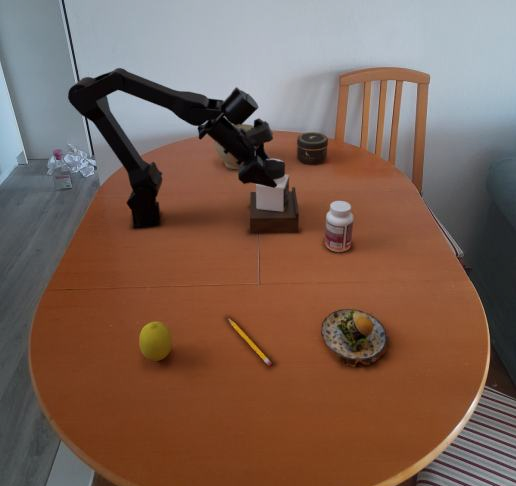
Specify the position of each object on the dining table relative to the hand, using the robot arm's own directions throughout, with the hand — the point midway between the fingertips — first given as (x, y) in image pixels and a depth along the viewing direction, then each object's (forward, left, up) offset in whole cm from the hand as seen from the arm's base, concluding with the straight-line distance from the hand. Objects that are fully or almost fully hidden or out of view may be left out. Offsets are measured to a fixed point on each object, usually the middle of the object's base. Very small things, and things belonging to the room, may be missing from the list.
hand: (275, 177), depth 111 cm
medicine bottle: (-1, 0, -8) cm, 8 cm away
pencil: (-12, -39, -13) cm, 43 cm away
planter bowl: (-5, +34, -12) cm, 37 cm away
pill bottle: (+13, -14, -12) cm, 23 cm away
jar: (+19, +33, -12) cm, 40 cm away
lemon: (-28, -40, -12) cm, 51 cm away
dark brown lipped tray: (0, 0, -12) cm, 12 cm away
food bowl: (+7, -42, -12) cm, 44 cm away
